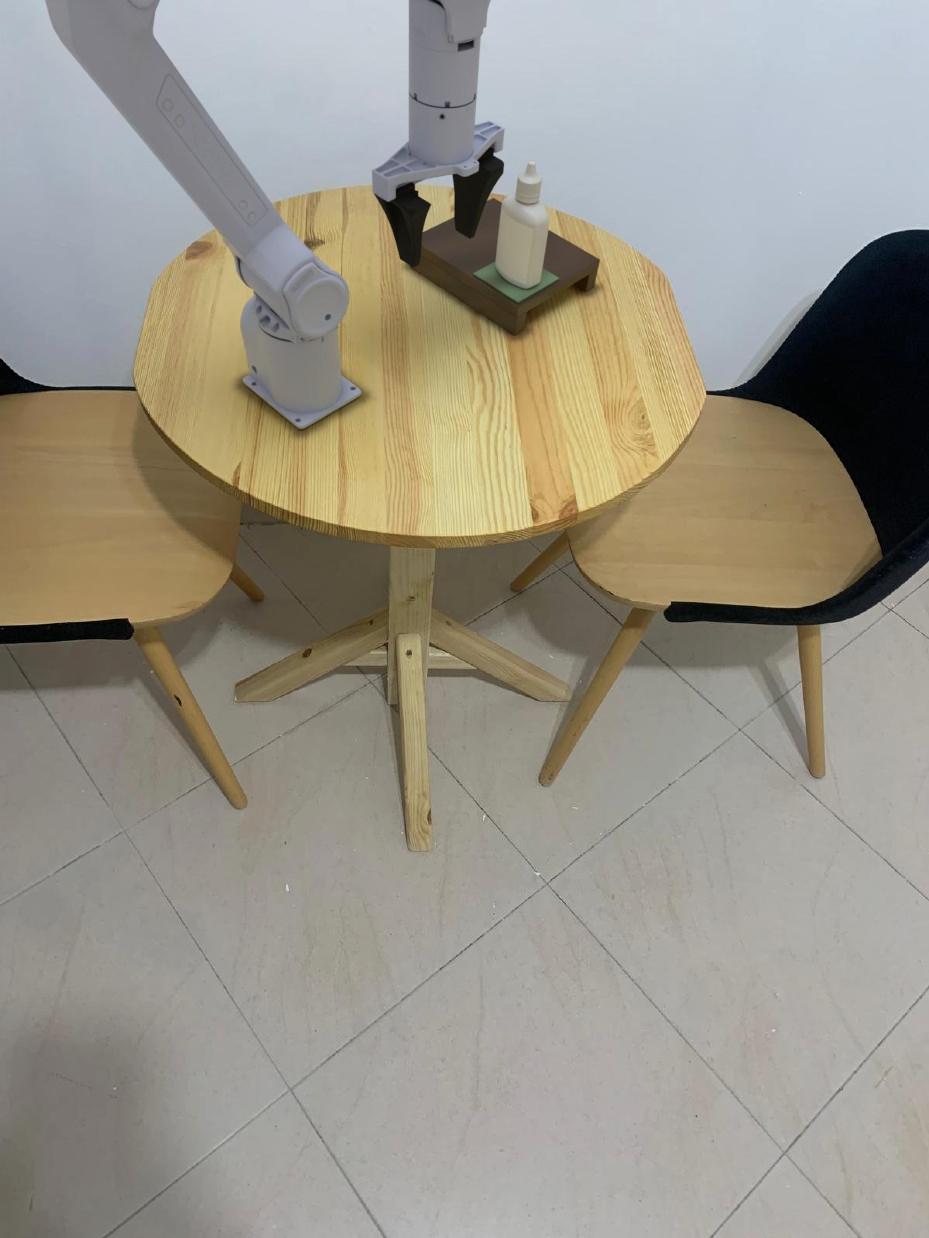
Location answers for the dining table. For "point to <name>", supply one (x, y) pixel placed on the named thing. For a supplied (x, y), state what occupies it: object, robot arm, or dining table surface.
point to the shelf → (479, 283)
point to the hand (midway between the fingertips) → (437, 247)
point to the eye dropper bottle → (523, 232)
